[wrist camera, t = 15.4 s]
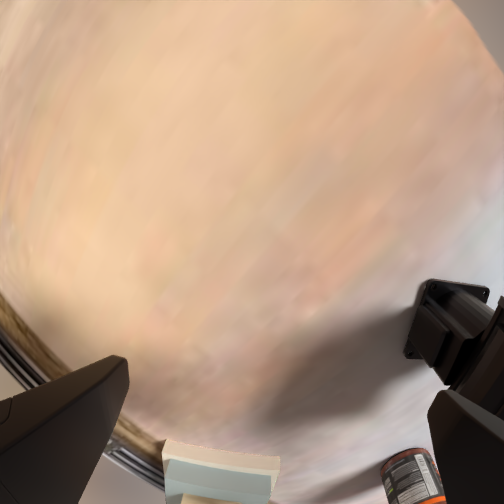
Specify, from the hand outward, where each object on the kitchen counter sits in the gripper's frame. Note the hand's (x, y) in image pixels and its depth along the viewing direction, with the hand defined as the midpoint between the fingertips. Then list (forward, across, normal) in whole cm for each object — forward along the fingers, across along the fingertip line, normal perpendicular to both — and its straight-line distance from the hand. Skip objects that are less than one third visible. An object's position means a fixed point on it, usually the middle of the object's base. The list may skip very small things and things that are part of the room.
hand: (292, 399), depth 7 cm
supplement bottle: (+13, -18, +21) cm, 31 cm away
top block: (+11, +2, +25) cm, 27 cm away
